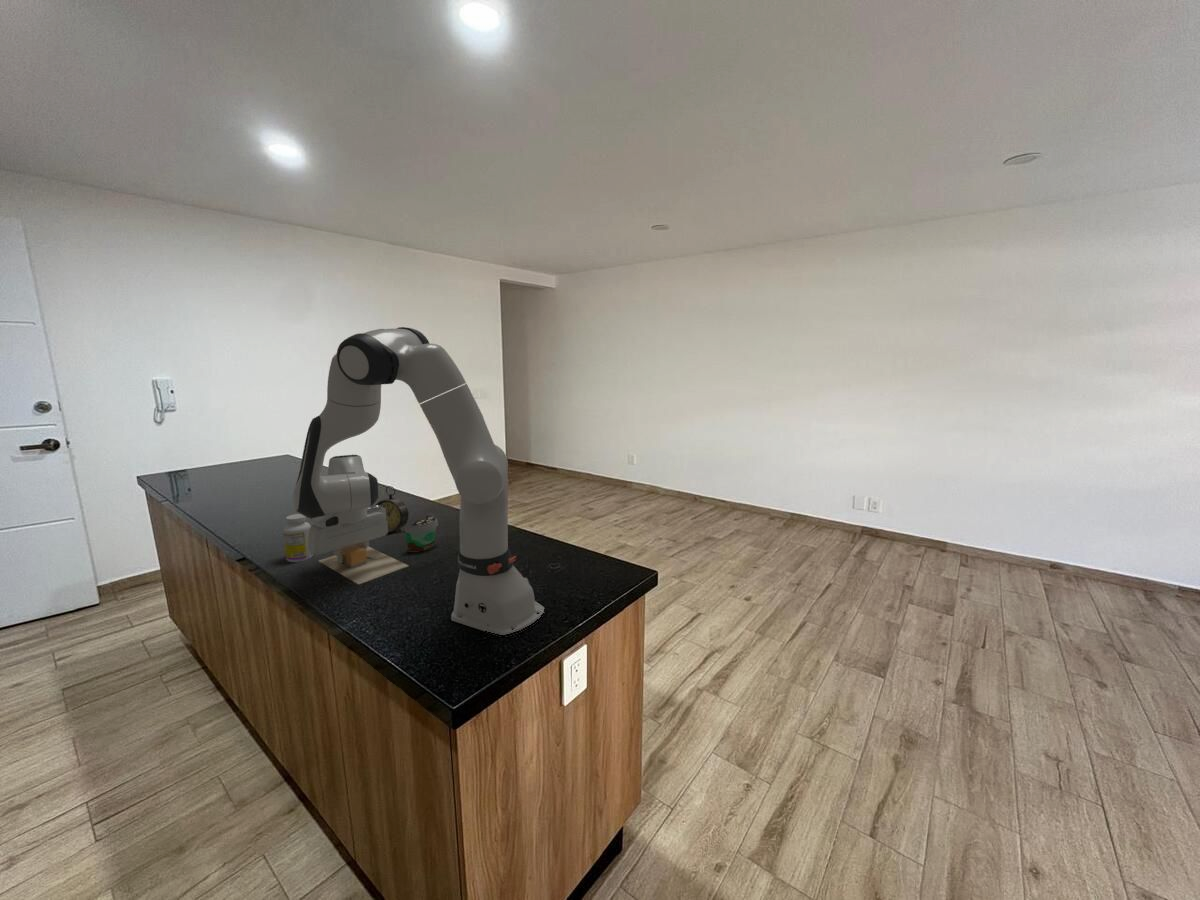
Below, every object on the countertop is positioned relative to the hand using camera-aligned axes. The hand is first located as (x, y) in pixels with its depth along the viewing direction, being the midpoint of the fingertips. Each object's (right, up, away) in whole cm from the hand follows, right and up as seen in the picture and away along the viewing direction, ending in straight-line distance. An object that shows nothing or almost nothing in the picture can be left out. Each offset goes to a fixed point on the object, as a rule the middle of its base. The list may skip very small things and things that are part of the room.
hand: (352, 559), depth 127 cm
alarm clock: (-1, +2, +27) cm, 27 cm away
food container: (+16, -1, +13) cm, 21 cm away
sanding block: (0, -1, 0) cm, 1 cm away
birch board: (+3, -3, 0) cm, 4 cm away
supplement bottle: (-18, -1, +5) cm, 18 cm away
